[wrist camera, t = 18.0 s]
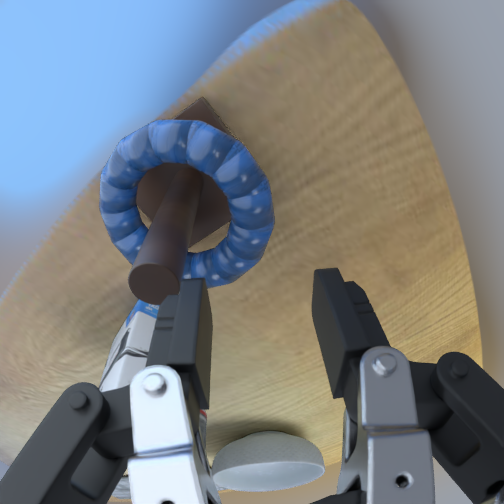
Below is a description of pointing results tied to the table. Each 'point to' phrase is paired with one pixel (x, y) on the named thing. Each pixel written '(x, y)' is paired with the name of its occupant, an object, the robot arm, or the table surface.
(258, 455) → the cereal bowl
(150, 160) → the blue teething ring
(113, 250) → the table surface
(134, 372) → the ink box
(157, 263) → the stand
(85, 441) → the robot arm
